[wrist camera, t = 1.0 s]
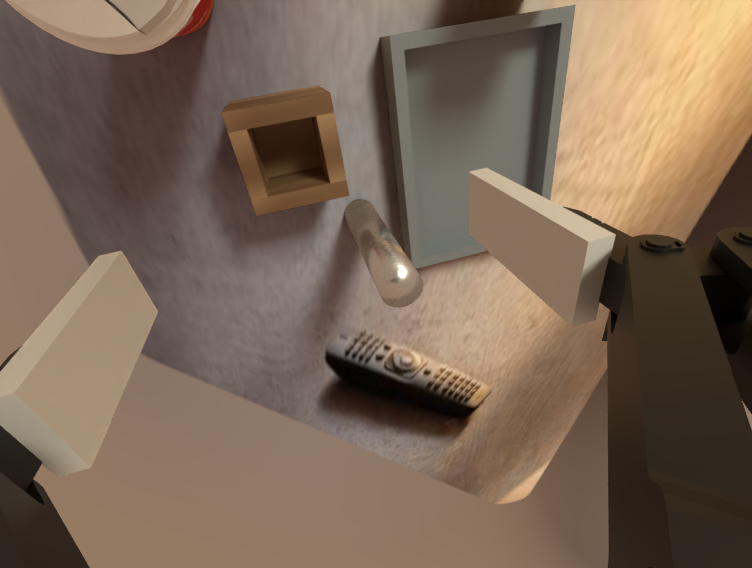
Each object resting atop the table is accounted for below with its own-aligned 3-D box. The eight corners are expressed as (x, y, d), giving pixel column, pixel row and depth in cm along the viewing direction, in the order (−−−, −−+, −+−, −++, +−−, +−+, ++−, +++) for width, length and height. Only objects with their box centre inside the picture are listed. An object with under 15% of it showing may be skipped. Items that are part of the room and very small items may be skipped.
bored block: (230, 101, 29) (221, 112, 23) (318, 85, 30) (330, 92, 24) (258, 187, 33) (256, 216, 27) (335, 171, 34) (349, 195, 28)
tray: (380, 37, 29) (389, 36, 27) (552, 8, 31) (575, 4, 29) (404, 257, 40) (412, 269, 38) (530, 226, 42) (545, 236, 40)
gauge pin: (341, 202, 35) (377, 275, 24) (372, 196, 36) (421, 264, 24) (347, 231, 37) (383, 312, 25) (376, 224, 37) (424, 301, 26)
